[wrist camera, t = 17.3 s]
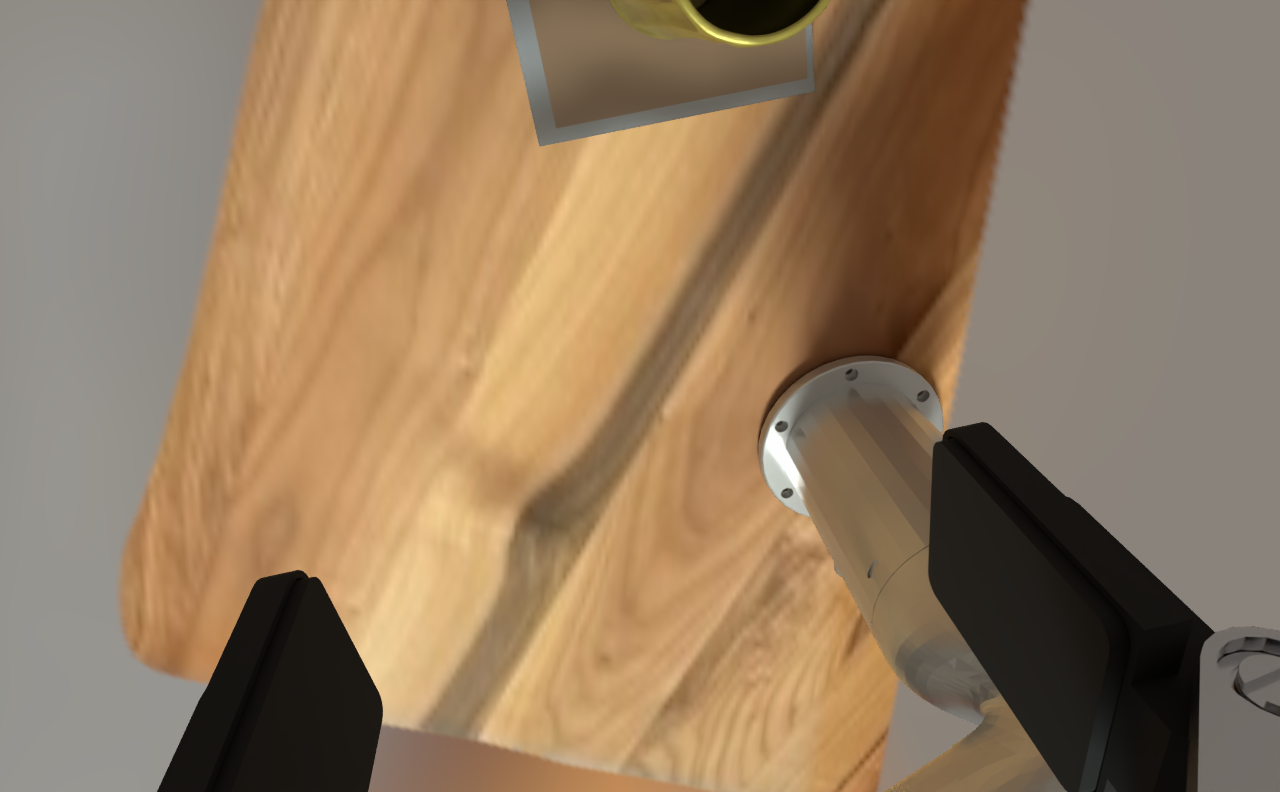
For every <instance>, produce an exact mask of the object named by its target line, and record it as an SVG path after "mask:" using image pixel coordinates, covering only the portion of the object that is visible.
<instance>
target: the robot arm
mask: <svg viewBox="0 0 1280 792" xmlns="http://www.w3.org/2000/svg"><path fill="white" fill-rule="evenodd" d="M942 432H943V411H942V408H941V405H940V401H939V398H938V396H937V395H936V393H935V391H934V390H933V388H932V387H931V385H930V384H929V383H928V382H927V381H926V380H925V379H924V378H923V377H922V376H921V375H920V374H919V373H918V372H916V371H915V370H914V369H912V368H911V367H910V366H908V365H906V364H904V363H902V362H899V361H897V360H895V359H891V358H886V357H881V356H854V357H848V358H842V359H839V360H836V361H833V362H830V363H827V364H824V365H822V366H820V367H818V368H817V369H815V370H813V371H811V372H809V373H807V374H806V375H804V376H803V377H802V378H800V379H799V380H798V381H796V382H795V383H794V384H792V385H791V386H790V387H789V388H788V389H787V390H786V391H785V392H784V393H783V394H782V396H781V397H780V398H779V399H778V400H777V402H776V403H775V405H774V406H773V407H772V409H771V410H770V412H769V414H768V416H767V418H766V420H765V423H764V425H763V427H762V430H761V435H760V439H759V443H758V459H759V463H760V468H761V472H762V474H763V476H764V479H765V481H766V483H767V485H768V487H769V488H770V490H771V491H772V493H773V494H774V496H775V497H776V498H777V499H778V500H779V501H780V502H781V503H782V504H784V505H785V506H786V507H788V508H789V509H791V510H793V511H795V512H796V513H799V514H802V515H805V516H808V517H811V519H812V521H813V523H814V525H815V526H816V528H817V530H818V532H819V534H820V536H821V538H822V540H823V542H824V543H825V545H826V547H827V549H828V551H829V553H830V555H831V557H832V559H833V560H834V570H835V571H836V573H837V574H838V575H839V576H841V577H843V579H844V581H845V583H846V585H847V587H848V589H849V591H850V593H851V594H852V596H853V598H854V600H855V602H856V604H857V606H858V608H859V610H860V611H861V613H862V615H863V617H864V619H865V621H866V623H867V625H868V627H869V628H870V630H871V632H872V634H873V636H874V638H875V640H876V642H877V644H878V646H879V648H880V649H881V651H882V653H883V655H884V657H885V659H886V660H887V662H888V664H889V665H890V667H891V668H892V670H893V671H894V673H895V674H896V675H897V676H898V677H899V678H900V680H901V681H902V682H903V683H904V684H905V685H906V686H907V687H908V688H910V689H911V690H912V691H913V692H914V693H916V694H917V695H918V696H920V697H921V698H922V699H923V700H925V701H927V702H929V703H931V704H932V705H934V706H935V707H937V708H939V709H941V710H943V711H945V712H947V713H950V714H952V715H954V716H956V717H959V718H961V719H964V720H966V721H969V722H972V723H974V724H977V725H979V726H978V727H977V728H976V730H974V731H973V732H971V733H970V734H969V735H967V736H966V737H964V738H963V739H962V740H960V741H959V742H957V743H956V744H954V745H953V746H952V748H951V749H949V750H948V751H946V752H945V753H943V754H942V755H940V756H939V757H937V758H936V759H934V760H932V761H931V762H929V763H928V764H926V765H925V766H923V767H922V768H920V769H918V770H917V771H915V772H914V773H912V774H911V775H909V776H908V777H906V778H905V779H903V780H901V781H900V782H898V783H897V784H895V785H894V786H892V787H891V788H889V789H887V790H886V791H884V792H1280V631H1278V630H1273V629H1266V628H1260V627H1254V626H1251V627H1231V628H1228V629H1225V630H1222V631H1219V632H1214V631H1213V630H1212V629H1211V628H1210V627H1209V626H1208V625H1207V624H1205V623H1204V622H1203V621H1202V620H1201V619H1200V618H1199V617H1198V616H1197V615H1196V614H1195V613H1194V612H1193V611H1191V609H1190V608H1188V606H1186V605H1185V604H1184V603H1183V602H1182V601H1181V600H1180V599H1179V598H1178V597H1177V596H1176V595H1175V594H1174V593H1173V592H1172V591H1171V590H1170V589H1168V588H1167V587H1166V586H1165V585H1164V584H1163V583H1162V582H1161V581H1160V580H1159V579H1158V578H1157V577H1156V576H1155V575H1153V574H1152V573H1151V572H1150V571H1149V570H1148V569H1147V568H1146V567H1145V566H1144V565H1143V564H1142V563H1141V562H1140V561H1139V560H1138V559H1137V558H1136V557H1135V556H1133V555H1132V554H1131V553H1130V552H1129V551H1128V550H1127V549H1126V548H1125V547H1124V546H1123V545H1122V544H1121V543H1120V542H1119V541H1118V540H1117V539H1115V538H1114V537H1113V536H1112V535H1111V534H1110V533H1109V532H1108V531H1107V530H1106V529H1105V528H1104V527H1103V526H1102V525H1101V524H1100V523H1098V522H1097V521H1096V520H1095V519H1094V518H1093V517H1092V516H1091V515H1090V514H1089V513H1088V512H1087V511H1086V510H1085V509H1084V508H1083V507H1081V506H1080V505H1079V504H1078V503H1077V502H1075V501H1074V500H1073V499H1071V498H1069V497H1066V496H1065V495H1064V494H1063V493H1061V492H1060V491H1059V490H1058V489H1057V488H1056V487H1055V486H1054V485H1053V484H1052V483H1051V482H1050V481H1049V480H1048V479H1047V478H1046V477H1045V476H1044V475H1042V473H1040V472H1039V471H1038V470H1037V469H1036V468H1035V467H1034V466H1033V465H1032V464H1031V463H1030V462H1029V461H1028V460H1027V459H1026V458H1025V457H1024V456H1023V455H1021V454H1020V453H1019V452H1018V451H1017V450H1016V449H1015V448H1014V447H1013V446H1012V445H1011V444H1010V443H1009V442H1008V441H1007V440H1006V439H1005V438H1004V437H1003V436H1002V435H1001V434H1000V433H998V432H997V431H996V430H995V429H994V428H993V427H992V426H991V425H989V424H988V423H984V422H981V423H976V424H972V425H967V426H962V427H958V428H953V429H948V430H947V431H945V433H944V435H942ZM382 718H383V707H382V701H381V697H380V694H379V692H378V690H377V688H376V686H375V684H374V682H373V680H372V678H371V677H370V675H369V673H368V671H367V669H366V667H365V665H364V663H363V661H362V659H361V657H360V655H359V653H358V652H357V650H356V648H355V646H354V644H353V642H352V640H351V638H350V636H349V634H348V632H347V630H346V628H345V627H344V625H343V623H342V621H341V619H340V617H339V615H338V613H337V611H336V609H335V607H334V605H333V604H332V602H331V600H330V598H329V596H328V594H327V592H326V590H325V588H324V586H323V584H322V583H321V581H320V580H319V579H318V578H317V577H311V578H308V576H307V575H306V573H304V572H303V571H301V570H296V571H292V572H287V573H282V574H278V575H273V576H268V577H264V578H261V579H259V580H257V581H256V583H255V584H254V586H253V588H252V590H251V592H250V595H249V597H248V599H247V601H246V603H245V606H244V608H243V610H242V612H241V614H240V616H239V619H238V621H237V623H236V625H235V627H234V629H233V632H232V634H231V636H230V638H229V640H228V643H227V645H226V647H225V649H224V651H223V653H222V656H221V658H220V660H219V662H218V664H217V667H216V669H215V671H214V673H213V675H212V677H211V680H210V682H209V684H208V686H207V688H206V690H205V692H204V693H203V695H202V697H201V698H200V700H199V702H198V704H197V706H196V709H195V711H194V713H193V715H192V717H191V719H190V722H189V724H188V726H187V728H186V731H185V733H184V735H183V737H182V739H181V741H180V743H179V745H178V748H177V750H176V752H175V754H174V756H173V758H172V761H171V763H170V765H169V767H168V769H167V771H166V774H165V776H164V778H163V780H162V782H161V785H160V787H159V789H158V791H157V792H368V789H369V784H370V779H371V774H372V769H373V764H374V759H375V754H376V748H377V744H378V739H379V734H380V729H381V724H382Z"/></svg>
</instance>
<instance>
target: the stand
mask: <svg viewBox="0 0 1280 792" xmlns="http://www.w3.org/2000/svg"><path fill="white" fill-rule="evenodd" d="M506 1H507V6H508V10H509V14H510V19H511V23H512V28H513V32H514V36H515V41H516V45H517V50H518V54H519V58H520V63H521V67H522V72H523V76H524V80H525V85H526V89H527V94H528V98H529V102H530V107H531V111H532V116H533V120H534V124H535V129H536V133H537V138H538V142H539V146H545V145H550V144H555V143H560V142H565V141H570V140H575V139H580V138H585V137H590V136H595V135H600V134H605V133H610V132H615V131H620V130H625V129H630V128H635V127H640V126H645V125H650V124H655V123H660V122H665V121H670V120H675V119H680V118H685V117H690V116H695V115H700V114H705V113H710V112H715V111H720V110H725V109H730V108H735V107H740V106H745V105H750V104H755V103H760V102H765V101H770V100H775V99H780V98H785V97H790V96H795V95H800V94H805V93H810V92H815V84H814V62H813V39H812V23H811V24H809V25H808V26H807V27H806V28H804V29H803V30H802V31H800V32H799V33H797V34H796V35H794V36H792V37H791V38H789V39H787V40H784V41H782V42H779V43H775V44H770V45H764V46H758V47H750V48H738V47H735V46H731V45H729V44H726V43H715V42H711V41H707V40H703V39H699V38H681V39H673V40H664V39H658V38H653V37H650V36H647V35H645V34H642V33H640V32H638V31H637V30H635V29H633V28H632V27H631V26H629V25H628V24H627V23H626V22H625V21H624V20H623V19H622V18H621V17H620V15H619V14H618V13H617V11H616V10H615V9H614V7H613V6H612V4H611V2H610V0H506Z"/></svg>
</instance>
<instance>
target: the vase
mask: <svg viewBox="0 0 1280 792" xmlns="http://www.w3.org/2000/svg"><path fill="white" fill-rule="evenodd" d="M610 2H611V4H612V6H613V7H614V9H615V10H616V11H617V13H618V14H619V15H620V17H621V18H622V19H623V20H624V21H625V22H626V23H627V24H628V25H629V26H631V27H632V28H633V29H635V30H637V31H638V32H640V33H642V34H645V35H647V36H650V37H653V38H658V39H664V40H673V39H681V38H699V39H703V40H707V41H711V42H715V43H726V44H729V45H731V46H735V47H738V48H750V47H758V46H764V45H770V44H775V43H779V42H782V41H784V40H787V39H789V38H791V37H792V36H794V35H796V34H797V33H799V32H800V31H802V30H803V29H804V28H806V27H807V26H808V25H809V24H811V23H812V22H813V21H814V20H815V19H816V18H817V17H818V16H819V15H820V14H821V13H822V11H823V10H824V9H825V8H826V6H827V5H828V3H829V2H830V0H610Z"/></svg>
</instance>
